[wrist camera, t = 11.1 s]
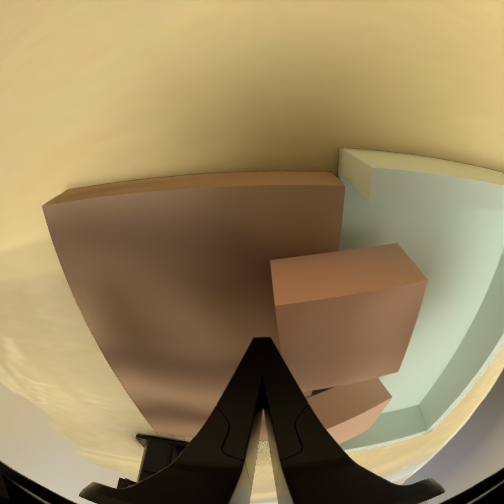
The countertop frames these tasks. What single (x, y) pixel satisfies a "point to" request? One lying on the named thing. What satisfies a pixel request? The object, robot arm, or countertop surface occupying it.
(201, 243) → the walnut board
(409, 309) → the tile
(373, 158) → the sage tray
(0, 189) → the countertop surface
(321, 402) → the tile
